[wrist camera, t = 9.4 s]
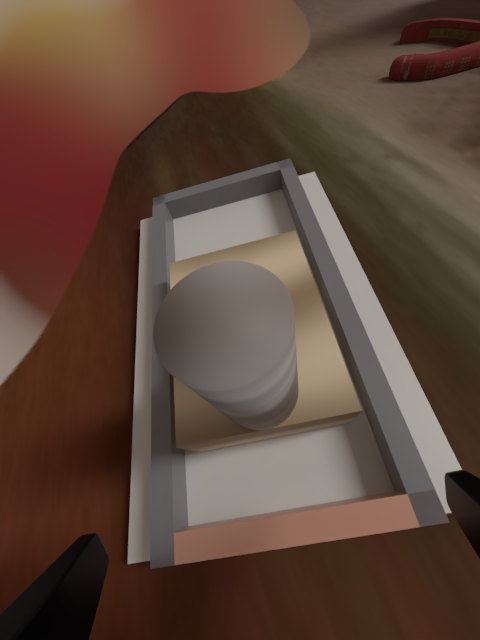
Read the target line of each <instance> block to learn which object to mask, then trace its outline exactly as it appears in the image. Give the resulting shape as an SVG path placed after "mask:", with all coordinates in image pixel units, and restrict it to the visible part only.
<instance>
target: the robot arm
mask: <svg viewBox="0 0 480 640" xmlns="http://www.w3.org/2000/svg"><path fill="white" fill-rule="evenodd" d="M444 479H445V491H446V500H447V504H448V506H449V508H450V510H451V512H452V514H453V515H454V517H455V519H456V520H457V522H458V524H459V525H460V527H461V529H462V530H463V532H464V534H465V535H466V537H467V538H468V540H469V542H470V543H471V545H472V547H473V548H474V550H475V552H476V553H477V555H478V557H479V558H480V478H478V477H476V476H474V475H472V474H471V473H469V472H467V471H464V470H458V471H452V472H447V473H446V474H445V477H444ZM108 563H109V556H108V552H107V550H106V548H105V546H104V544H103V542H102V540H101V538H100V536H99V535H98V534H97V533H91V534H86V535H82V536H80V537H79V538H78V539H77V540H76V541H75V542H74V543H73V544H72V545H71V546H70V547H69V548H68V549H67V550H66V551H65V552H64V553H63V554H62V555H61V556H60V557H59V558H58V559H56V560H55V561H54V562H53V563H52V564H51V565H50V566H49V567H48V568H47V569H46V570H45V571H44V572H43V573H42V574H41V575H40V576H39V577H38V578H37V579H36V580H35V581H34V582H33V583H32V584H31V585H30V586H29V587H28V588H27V589H26V590H25V591H24V592H23V593H22V594H21V595H20V596H19V597H18V598H17V599H16V600H15V601H14V602H13V603H12V604H11V605H10V606H9V607H8V608H7V609H6V610H5V611H4V612H3V613H2V614H1V615H0V640H89V637H90V633H91V630H92V626H93V622H94V618H95V614H96V610H97V607H98V603H99V599H100V595H101V591H102V587H103V584H104V580H105V576H106V572H107V568H108Z"/></svg>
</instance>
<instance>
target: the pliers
mask: <svg viewBox="0 0 480 640" xmlns="http://www.w3.org/2000/svg"><path fill="white" fill-rule="evenodd" d="M420 41H449V42H455V43H462V44H468V45H464V46H461V47H458V48H454V49H451V50H447V51H443V52H438V53H432V54H426V55H424V54H414V55H402V56H399V57H397V58H396V59H395V60H394V61H393V63H392V65H391V67H390V72H389V77H390V79H391V80H425V79H432V78H438V77H442V76H447V75H450V74H454V73H457V72H461V71H465V70H468V69H472V68H475V67H479V66H480V20H471V19H461V18H435V19H428V20H420V21H413V22H410V23H409V24H407V25H406V26H405V28H404V29H403V31H402V34H401V39H400V43H410V42H420Z"/></svg>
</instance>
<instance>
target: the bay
mask: <svg viewBox="0 0 480 640" xmlns="http://www.w3.org/2000/svg"><path fill="white" fill-rule="evenodd" d="M294 230H296V232H297V235H298V238H299V240H300V243H301V246H302V248H303V251H304V254H305V257H306V259H307V262H308V265H309V267H310V270H311V273H312V275H313V278H314V281H315V284H316V286H317V289H318V292H319V294H320V297H321V300H322V303H323V305H324V308H325V311H326V313H327V316H328V319H329V321H330V324H331V327H332V330H333V332H334V335H335V338H336V340H337V343H338V346H339V349H340V351H341V354H342V357H343V359H344V362H345V365H346V367H347V370H348V373H349V376H350V378H351V381H352V384H353V386H354V389H355V392H356V395H357V397H358V400H359V403H360V405H361V408H362V412H361V413H360V414H359V415H358V416H357V417H356V418H355V419H354V420H353V421H352V422H351V423H346V424H341V425H336V426H331V427H326V428H321V429H315V430H310V431H305V432H300V433H295V434H290V435H284V436H279V437H274V438H269V439H264V440H259V441H254V442H248V443H243V444H238V445H233V446H228V447H223V448H218V449H212V450H207V451H202V452H196V451H191V450H186V449H181V448H176V434H175V405H174V377H173V376H172V375H171V374H170V373H169V372H168V371H167V370H166V369H165V367H164V366H163V365H162V363H161V362H160V360H159V358H158V356H157V353H156V351H155V347H154V342H153V326H154V321H155V317H156V314H157V311H158V309H159V307H160V305H161V303H162V301H163V299H164V298H165V296H166V295H167V294H168V292H169V291H170V263H173V262H176V261H180V260H184V259H188V258H192V257H195V256H199V255H203V254H207V253H211V252H214V251H218V250H222V249H226V248H230V247H233V246H237V245H241V244H245V243H248V242H252V241H256V240H260V239H264V238H267V237H271V236H275V235H279V234H283V233H286V232H290V231H294ZM458 470H462V469H461V467H460V465H459V463H458V461H457V459H456V457H455V455H454V453H453V451H452V449H451V447H450V445H449V443H448V441H447V439H446V437H445V435H444V433H443V431H442V429H441V427H440V425H439V423H438V420H437V418H436V416H435V414H434V412H433V410H432V408H431V406H430V404H429V402H428V400H427V398H426V396H425V394H424V392H423V390H422V388H421V386H420V384H419V382H418V380H417V378H416V376H415V374H414V372H413V370H412V368H411V366H410V364H409V362H408V360H407V358H406V356H405V354H404V352H403V350H402V348H401V346H400V344H399V342H398V340H397V338H396V336H395V334H394V332H393V330H392V327H391V325H390V323H389V321H388V319H387V317H386V315H385V313H384V311H383V309H382V307H381V305H380V303H379V301H378V299H377V297H376V295H375V293H374V291H373V289H372V287H371V285H370V283H369V281H368V279H367V277H366V275H365V273H364V271H363V269H362V267H361V265H360V263H359V261H358V259H357V257H356V255H355V253H354V251H353V249H352V247H351V245H350V243H349V241H348V239H347V237H346V235H345V232H344V230H343V228H342V226H341V224H340V222H339V220H338V218H337V216H336V214H335V212H334V210H333V208H332V206H331V204H330V202H329V200H328V198H327V196H326V194H325V192H324V190H323V188H322V186H321V184H320V182H319V180H318V178H317V176H316V174H315V172H311V173H308V174H304V175H301V176H298V175H297V173H296V170H295V168H294V166H293V164H292V161H291V159H286V160H283V161H279V162H276V163H272V164H269V165H265V166H262V167H258V168H255V169H251V170H248V171H245V172H241V173H238V174H234V175H231V176H227V177H224V178H220V179H217V180H213V181H210V182H206V183H203V184H199V185H196V186H192V187H189V188H186V189H182V190H179V191H175V192H172V193H168V194H165V195H161V196H158V197H154V198H153V217H151V218H148V219H144V220H141V228H140V254H139V280H138V306H137V331H136V357H135V383H134V409H133V434H132V460H131V486H130V512H129V537H128V563H127V564H132V563H138V562H145V561H150V569H154V568H160V567H167V566H173V565H179V564H186V563H192V562H199V561H205V560H211V559H218V558H224V557H231V556H237V555H243V554H250V553H256V552H263V551H269V550H276V549H282V548H288V547H295V546H301V545H308V544H314V543H320V542H327V541H333V540H340V539H346V538H353V537H359V536H365V535H372V534H378V533H385V532H391V531H397V530H404V529H410V528H417V527H423V526H430V525H436V524H442V523H449V520H448V518H447V515H446V514H447V513H452V512H451V510H450V508H449V506H448V504H447V500H446V491H445V479H444V477H445V474H446V473H447V472H452V471H458Z"/></svg>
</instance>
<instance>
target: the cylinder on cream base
mask: <svg viewBox="0 0 480 640" xmlns="http://www.w3.org/2000/svg"><path fill="white" fill-rule="evenodd" d="M153 342H154V347H155V351H156V353H157V356H158V358H159V360H160V362H161V363H162V365H163V366H164V367H165V369H166V370H167V371H168V372H169V373H170V374H171V375H172V376H173V377H174V405H175V434H176V448H181V449H186V450H191V451H196V452H202V451H207V450H212V449H218V448H223V447H228V446H233V445H238V444H243V443H248V442H254V441H259V440H264V439H269V438H274V437H279V436H284V435H290V434H295V433H300V432H305V431H310V430H315V429H321V428H326V427H331V426H336V425H341V424H346V423H351V422H352V421H353V420H354V419H355V418H356V417H357V416H358V415H359V414H360V413H361V412H362V408H361V405H360V403H359V400H358V397H357V395H356V392H355V389H354V386H353V384H352V381H351V378H350V376H349V373H348V370H347V367H346V365H345V362H344V359H343V357H342V354H341V351H340V349H339V346H338V343H337V340H336V338H335V335H334V332H333V330H332V327H331V324H330V321H329V319H328V316H327V313H326V311H325V308H324V305H323V303H322V300H321V297H320V294H319V292H318V289H317V286H316V284H315V281H314V278H313V275H312V273H311V270H310V267H309V265H308V262H307V259H306V257H305V254H304V251H303V248H302V246H301V243H300V240H299V238H298V235H297V232H296V230H294V231H290V232H286V233H283V234H279V235H275V236H271V237H267V238H264V239H260V240H256V241H252V242H248V243H245V244H241V245H237V246H233V247H230V248H226V249H222V250H218V251H214V252H211V253H207V254H203V255H199V256H195V257H192V258H188V259H184V260H180V261H176V262H173V263H170V291H169V292H168V294H167V295H166V296H165V298H164V299H163V301H162V303H161V305H160V307H159V309H158V311H157V314H156V317H155V321H154V326H153Z"/></svg>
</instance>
